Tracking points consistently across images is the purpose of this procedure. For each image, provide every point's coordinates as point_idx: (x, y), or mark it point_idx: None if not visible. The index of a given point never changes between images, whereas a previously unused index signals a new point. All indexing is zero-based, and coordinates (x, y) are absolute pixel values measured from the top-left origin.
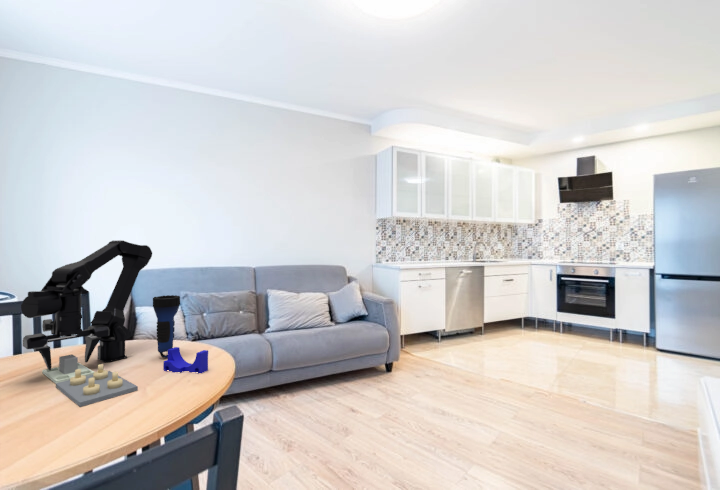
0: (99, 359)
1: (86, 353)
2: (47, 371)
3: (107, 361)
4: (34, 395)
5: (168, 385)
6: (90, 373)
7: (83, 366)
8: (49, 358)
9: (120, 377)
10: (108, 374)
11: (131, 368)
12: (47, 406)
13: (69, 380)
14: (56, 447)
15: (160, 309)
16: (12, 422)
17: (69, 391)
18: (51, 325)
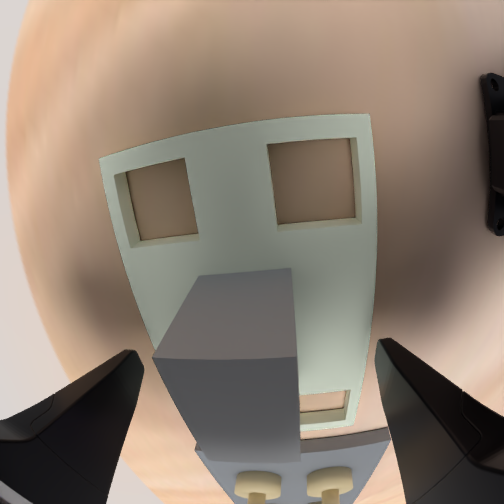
0: (491, 153)
1: (400, 417)
2: (133, 169)
3: (500, 232)
4: (149, 443)
5: (393, 496)
6: (333, 426)
7: (365, 290)
8: (111, 460)
9: (364, 483)
10: (362, 464)
11: None
12: (192, 488)
13: None
14: None
15: None
16: (152, 487)
17: (231, 493)
18: None
